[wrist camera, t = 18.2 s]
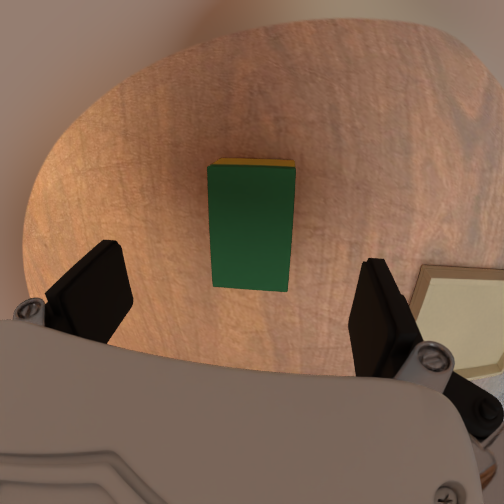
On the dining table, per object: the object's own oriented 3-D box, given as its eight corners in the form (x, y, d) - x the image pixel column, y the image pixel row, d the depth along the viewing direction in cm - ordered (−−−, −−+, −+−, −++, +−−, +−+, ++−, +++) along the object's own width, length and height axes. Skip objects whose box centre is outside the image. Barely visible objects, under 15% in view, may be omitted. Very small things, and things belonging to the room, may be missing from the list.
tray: (421, 264, 21) (431, 277, 19) (541, 271, 19) (551, 281, 17) (381, 375, 27) (384, 390, 25) (495, 363, 25) (501, 374, 23)
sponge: (220, 157, 19) (206, 166, 16) (294, 160, 19) (296, 169, 16) (222, 262, 23) (212, 286, 20) (288, 266, 22) (287, 292, 19)
